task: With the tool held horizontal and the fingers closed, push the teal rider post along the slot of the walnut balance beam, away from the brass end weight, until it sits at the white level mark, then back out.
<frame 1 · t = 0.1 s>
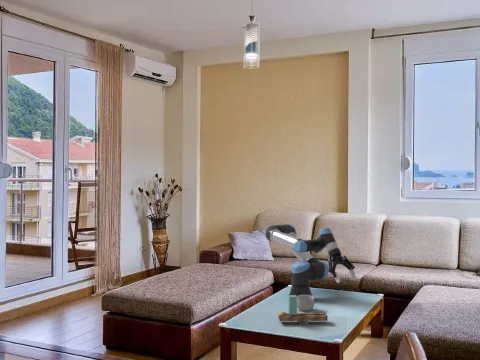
hand: (347, 281, 324), 15 cm above the table, tool tilted 35°, fingers open, 13 cm apart
teacup: (302, 310, 314), on the table
rider: (292, 306, 287), point 9 cm above the table, slide at -5.5 cm
beam: (302, 322, 288), on the table
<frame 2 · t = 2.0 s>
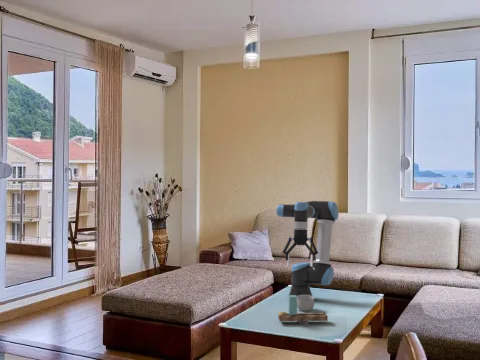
hand: (299, 266, 300), 29 cm above the table, tool pointing down, fingers open, 13 cm apart
nothing on the table moved.
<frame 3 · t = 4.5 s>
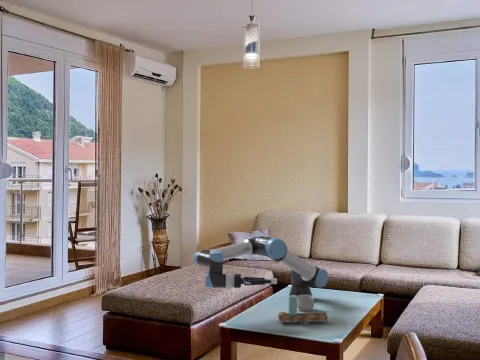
hand: (276, 281, 287), 23 cm above the table, tool horizontal, fingers closed
nothing on the table moved.
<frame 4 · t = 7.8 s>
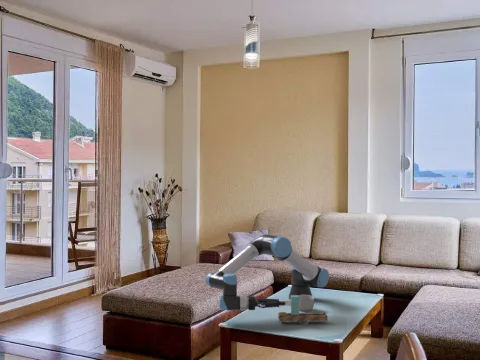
hand: (291, 302, 286), 11 cm above the table, tool horizontal, fingers closed
rider: (294, 306, 287), point 9 cm above the table, slide at -4.3 cm, touching gripper
everything else where it was.
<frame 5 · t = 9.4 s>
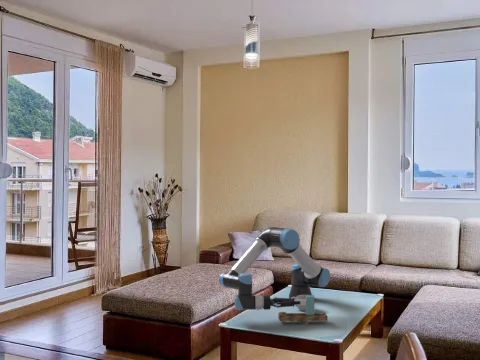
hand: (306, 302, 287), 11 cm above the table, tool horizontal, fingers closed
rider: (310, 306, 288), point 9 cm above the table, slide at 4.0 cm, touching gripper
everything else where it was.
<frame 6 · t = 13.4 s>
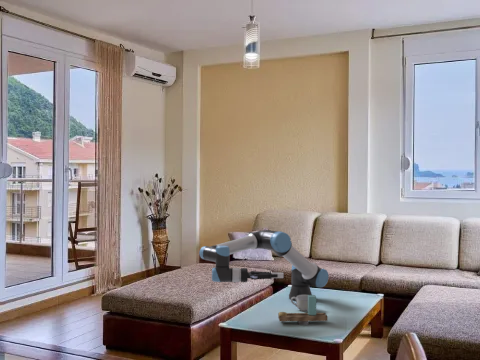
hand: (283, 275, 287), 26 cm above the table, tool horizontal, fingers closed
rider: (311, 306, 288), point 9 cm above the table, slide at 5.1 cm
everything else where it was.
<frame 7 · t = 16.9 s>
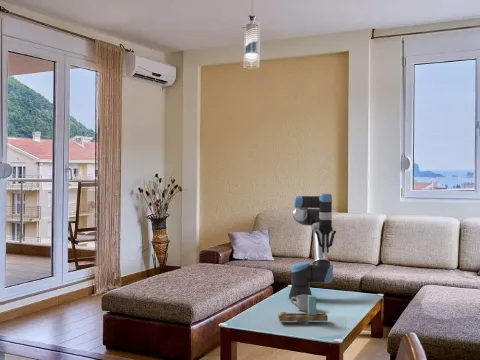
hand: (325, 258, 318), 30 cm above the table, tool pointing down, fingers closed
nothing on the table moved.
at the end: rider slide at 5.1 cm; the gripper is holding nothing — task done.
